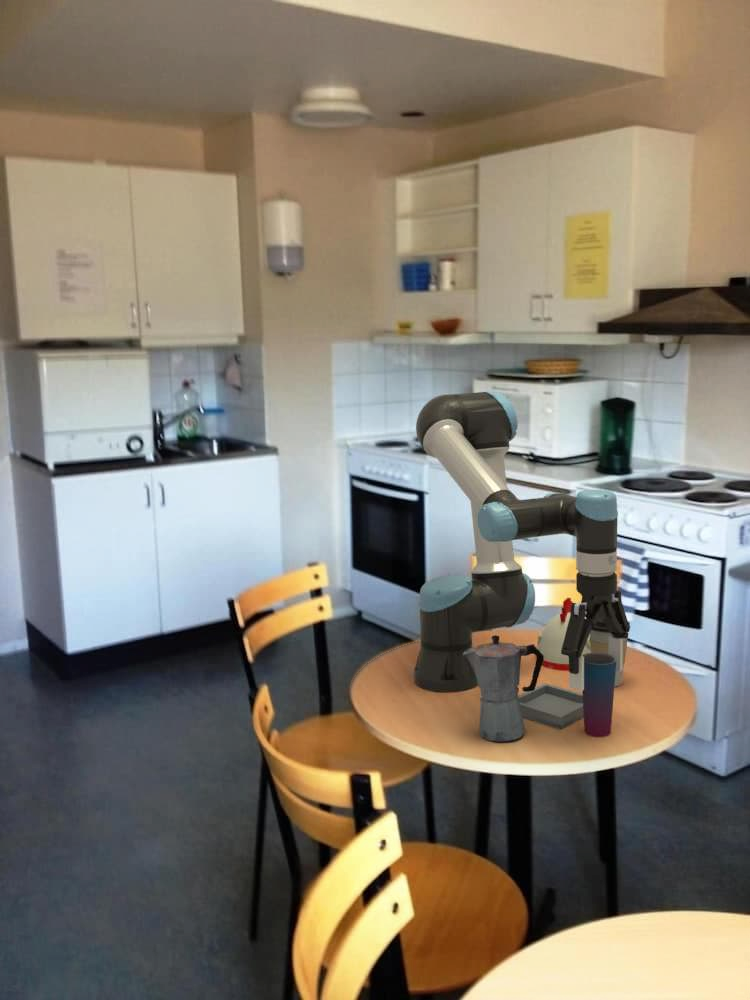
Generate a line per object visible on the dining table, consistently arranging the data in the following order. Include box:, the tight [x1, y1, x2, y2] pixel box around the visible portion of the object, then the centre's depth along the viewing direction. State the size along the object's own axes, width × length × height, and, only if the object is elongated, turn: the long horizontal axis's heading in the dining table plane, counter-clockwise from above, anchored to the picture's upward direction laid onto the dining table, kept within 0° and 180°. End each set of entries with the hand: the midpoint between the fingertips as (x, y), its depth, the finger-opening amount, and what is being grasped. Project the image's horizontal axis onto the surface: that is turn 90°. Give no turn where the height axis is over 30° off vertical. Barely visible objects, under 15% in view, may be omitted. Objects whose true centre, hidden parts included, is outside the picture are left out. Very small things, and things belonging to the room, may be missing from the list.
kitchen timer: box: [535, 597, 591, 672], centre depth 221 cm, size 14×14×15 cm
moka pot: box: [463, 634, 544, 743], centre depth 182 cm, size 10×15×20 cm, turn 88°
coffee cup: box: [590, 619, 631, 688], centre depth 207 cm, size 9×9×15 cm
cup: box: [581, 652, 617, 738], centre depth 182 cm, size 7×7×15 cm
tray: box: [518, 682, 584, 730], centre depth 193 cm, size 13×13×2 cm
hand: (596, 679), depth 181 cm, fingers open, 13 cm apart
